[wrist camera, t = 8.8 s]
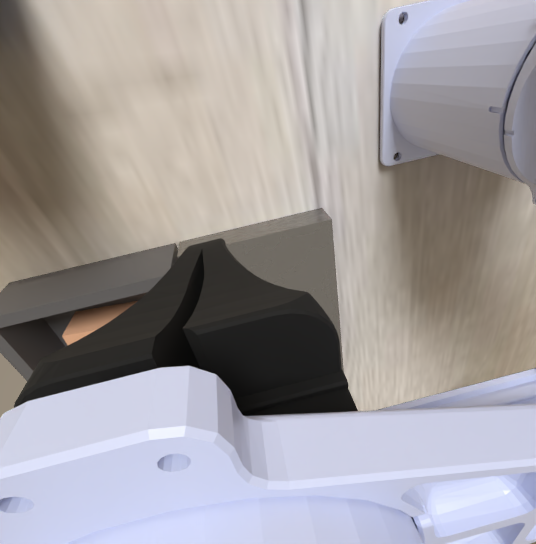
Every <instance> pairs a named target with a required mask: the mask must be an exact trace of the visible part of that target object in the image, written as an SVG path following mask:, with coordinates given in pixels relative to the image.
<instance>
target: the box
mask: <svg viewBox="0 0 536 544" xmlns="http://www.w3.org/2000/svg"><path fill="white" fill-rule="evenodd" d="M177 255H178V249H177V246H176V244H175V243H174V244H170V245H166V246H162V247H157V248H153V249H149V250H145V251H141V252H136V253H132V254H128V255H124V256H120V257H116V258H111V259H107V260H103V261H99V262H95V263H90V264H86V265H82V266H78V267H74V268H70V269H65V270H61V271H57V272H53V273H49V274H44V275H40V276H36V277H32V278H28V279H23V280H19V281H15V282H11V283H9V284H8V285H7V286H6V287H5V288H4V289H3V290H2V291H1V292H0V353H1V354H2V355H3V356H4V357H5V358H6V359H7V360H8V361H9V362H10V363H11V364H12V365H13V367H15V369H17V371H18V372H19V373H20V374H21V375H22V376H23V377H24V378H25V379H26V380H27V381H28V380H29V378H30V376H31V375H32V373H33V371H34V370H35V368H36V366H37V364H38V363H39V361H40V359H41V358H43V357H45V356H47V355H49V354H51V353H53V352H55V351H57V350H59V349H61V348H64V347H66V346H68V345H67V343H66V342H65V340H64V339H63V337H62V335H63V333H64V331H65V330H66V328H67V326H68V324H69V322H70V321H71V319H72V317H73V315H74V313H75V312H76V311H82V310H87V309H93V308H99V307H105V306H111V305H116V304H122V303H128V302H134V301H138V300H140V299H141V298H142V297H143V296H144V295H145V294H146V293H148V292H149V291H150V290H151V289H152V288H153V287H154V286H155V285H156V284H157V283H158V281H159V280H160V279H161V278H162V277H163V276H164V275H165V274H166V273H167V272H168V271H169V269H170V268H171V267H172V266H173V264H174V263H175V262H176V261H177V260H178V257H177Z"/></svg>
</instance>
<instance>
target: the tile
mask: <svg viewBox="0 0 536 544" xmlns="http://www.w3.org/2000/svg"><path fill="white" fill-rule="evenodd" d="M136 302H137V301H134V302H128V303H122V304H116V305H111V306H105V307H99V308H93V309H87V310H82V311H76V312H75V313H74V315H73V317H72V319H71V321H70V322H69V324H68V326H67V328H66V330H65V331H64V333H63V335H62V337H63V339H64V340H65V342H66V343H67V345H70V344H72V343H74V342H76V341H78V340H79V339H81V338H83V337H85V336H87V335H88V334H90V333H92V332H94V331H95V330H97V329H99V328H100V327H102V326H104V325H105V324H107V323H108V322H110V321H111V320H113V319H114V318H116V317H117V316H118V315H120V314H121V313H123V312H124V311H125V310H127V309H128V308H129V307H131V306H132V305H134V304H135V303H136Z"/></svg>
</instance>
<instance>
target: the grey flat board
mask: <svg viewBox="0 0 536 544" xmlns="http://www.w3.org/2000/svg"><path fill="white" fill-rule="evenodd" d="M220 238H221V239H223V240H225V244H226V247H227V248H228V250H229V251H230V253H231V254H232V255H233V256H234V257H235V258H236V260H237V261H238V262H239V263H241V264H242V265H243V266H244V267H245V268H246V269H247V270H249V271H250V272H251V273H253V274H254V275H256V276H257V277H259V278H261V279H263V280H265V281H267V282H269V283H272V284H274V285H277V286H281V287H284V288H288V289H293V290H299V291H305V292H308V293H310V294H311V296H312V297H313V298H314V299H315V300H316V301H317V302H318V303H319V305H320V306H321V307H322V308H323V310H324V311H325V312H326V314H327V315H328V317H329V318H330V319H331V321H332V323H333V324H334V326H335V328H336V330H337V333H338V337H339V341H340V352H341V364H342V370H343V358H342V345H341V333H340V320H339V307H338V294H337V281H336V268H335V255H334V243H333V230H332V219H331V218H330V217H329V215H328V214H327V213H326V212H325V211H324V210H323V208H320V209H316V210H312V211H308V212H304V213H300V214H295V215H291V216H287V217H283V218H279V219H274V220H270V221H266V222H262V223H258V224H254V225H249V226H245V227H241V228H237V229H233V230H228V231H224V232H220V233H216V234H212V235H208V236H203V237H199V238H195V239H191V240H187V241H182V242H180V243H179V249H178V255H177V257H178V258H179V257H180V256H181V255H182V253H183V252H184V251H185V250H186V248H187V247H188V246H191V245H195V244H199V243H203V242H207V241H211V240H216V239H220ZM343 372H344V371H343Z"/></svg>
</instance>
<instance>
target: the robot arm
mask: <svg viewBox="0 0 536 544" xmlns="http://www.w3.org/2000/svg"><path fill="white" fill-rule="evenodd" d="M401 13H402V14H403V15H404V22H403V23H402V24H400V23H399V21H398V19H399V15H400V14H401ZM397 152H398V157H397V158H396V159H394V155H395V154H396V153H397ZM439 154H440V155H443V156H446V157H449V158H452V159H455V160H458V161H461V162H464V163H467V164H469V165H472V166H475V167H478V168H481V169H484V170H487V171H490V172H493V173H496V174H499V175H501V176H504V177H507V178H510V179H513V180H516V181H519V182H522V183H525V184H527V185H528V186H529V187H530V189H531V192H532V196H533V204H536V0H429V1H424V2H420V3H415V4H411V5H406V6H401V7H397V8H393V9H390V10H388V11H387V12H386V13H385V14H384V16H383V18H382V29H381V112H380V162H381V163H382V164H383V165H385V166H392V165H396V164H401V163H405V162H409V161H413V160H418V159H422V158H426V157H430V156H435V155H439ZM533 542H536V368H533V369H530V370H526V371H522V372H518V373H515V374H511V375H507V376H503V377H500V378H496V379H492V380H488V381H484V382H481V383H477V384H473V385H469V386H466V387H462V388H458V389H454V390H450V391H447V392H443V393H439V394H435V395H432V396H428V397H424V398H420V399H417V400H413V401H409V402H405V403H401V404H398V405H394V406H390V407H386V408H383V409H379V410H375V411H358V410H357V408H356V405H355V403H354V401H353V399H352V396H351V394H350V392H349V390H348V382H347V379H346V377H345V375H344V372H343V370H342V364H341V352H340V341H339V337H338V333H337V330H336V328H335V326H334V324H333V323H332V321H331V319H330V318H329V317H328V315H327V314H326V312H325V311H324V310H323V308H322V307H321V306H320V305H319V303H318V302H317V301H316V300H315V299H314V298H313V297H312V296H311V294H310V293H308V292H305V291H299V290H293V289H288V288H284V287H281V286H277V285H274V284H272V283H269V282H267V281H265V280H263V279H261V278H259V277H257V276H256V275H254V274H253V273H251V272H250V271H249V270H247V269H246V268H245V267H244V266H243V265H242V264H241V263H239V262H238V261H237V260H236V258H235V257H234V256H233V255H232V254H231V253H230V251H229V250H228V248H227V247H226V244H225V240H223V239H221V238H220V239H216V240H211V241H207V242H203V243H199V244H195V245H191V246H188V247H187V248H186V250H185V251H184V252H183V253H182V255H181V256H180V257H179V258H178V260H177V261H176V262H175V263H174V264H173V266H172V267H171V268H170V269H169V271H168V272H167V273H166V274H165V275H164V276H163V277H162V278H161V279H160V280H159V281H158V283H157V284H156V285H155V286H154V287H153V288H152V289H151V290H150V291H149V292H148V293H146V294H145V295H144V296H143V297H142V298H141V299H140V300H138V301H137V302H136V303H135V304H134V305H132V306H131V307H129V308H128V309H127V310H125V311H124V312H123V313H121V314H120V315H118V316H117V317H116V318H114V319H113V320H111V321H110V322H108V323H107V324H105V325H104V326H102V327H100V328H99V329H97V330H95V331H94V332H92V333H90V334H88V335H87V336H85V337H83V338H81V339H79V340H78V341H76V342H74V343H72V344H70V345H68V346H66V347H64V348H61V349H59V350H57V351H55V352H53V353H51V354H49V355H47V356H45V357H43V358H41V359H40V361H39V363H38V364H37V366H36V368H35V370H34V371H33V373H32V375H31V376H30V378H29V380H28V382H27V383H26V385H25V387H24V388H23V390H22V392H21V394H20V395H19V397H18V399H17V400H16V402H15V405H14V408H13V409H11V410H9V411H7V412H5V413H4V414H3V415H2V417H1V418H0V544H530V543H533Z"/></svg>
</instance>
